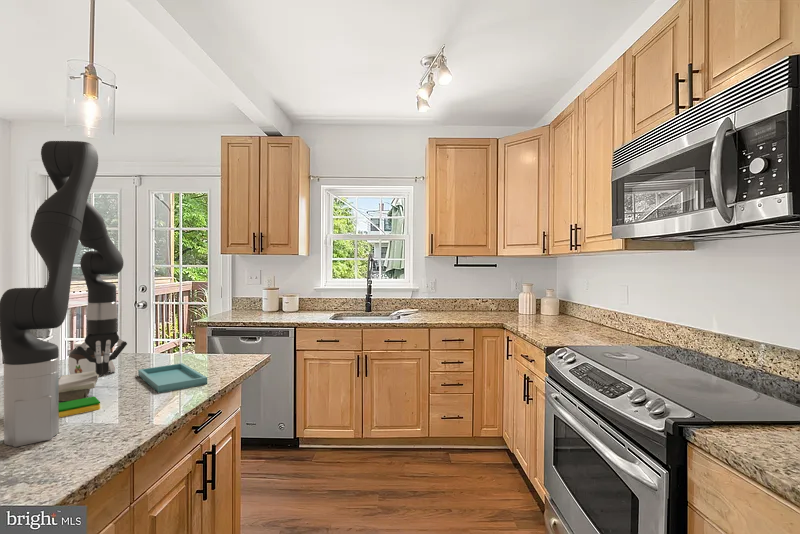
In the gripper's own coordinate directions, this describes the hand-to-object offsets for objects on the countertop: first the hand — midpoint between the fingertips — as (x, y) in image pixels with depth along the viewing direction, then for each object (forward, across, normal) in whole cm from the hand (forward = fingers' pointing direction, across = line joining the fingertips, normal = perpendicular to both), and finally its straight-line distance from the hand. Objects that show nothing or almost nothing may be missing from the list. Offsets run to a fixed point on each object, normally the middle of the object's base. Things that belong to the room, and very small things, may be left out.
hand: (102, 374), depth 127 cm
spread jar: (+5, +1, +25) cm, 26 cm away
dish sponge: (+6, -10, -15) cm, 19 cm away
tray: (+5, +19, 0) cm, 20 cm away
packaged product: (+3, -1, 0) cm, 3 cm away
